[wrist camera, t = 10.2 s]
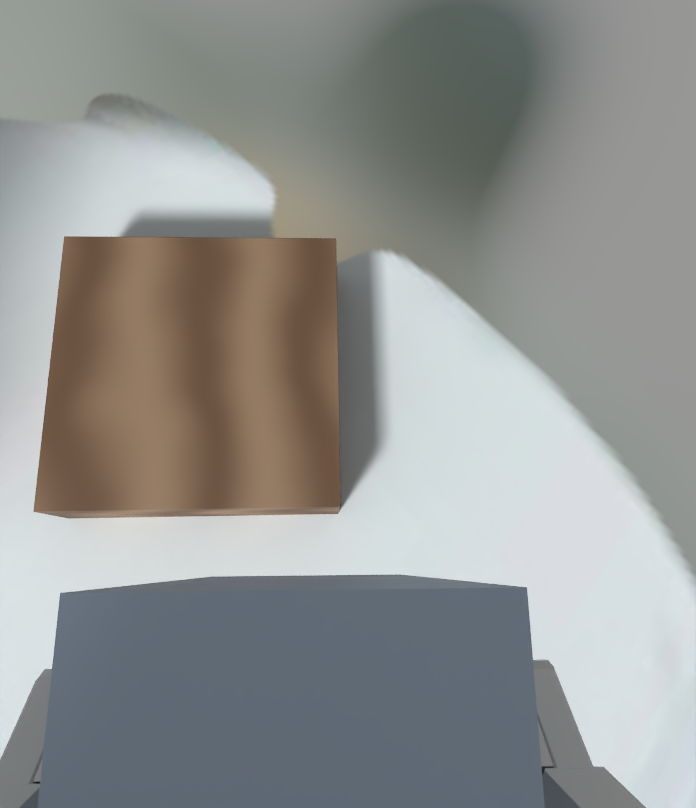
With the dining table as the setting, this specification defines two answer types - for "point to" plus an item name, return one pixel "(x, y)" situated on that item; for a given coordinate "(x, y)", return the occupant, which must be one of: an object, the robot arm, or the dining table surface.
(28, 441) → the dining table surface
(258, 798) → the slate pillar
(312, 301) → the walnut block
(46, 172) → the dining table surface
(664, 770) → the dining table surface
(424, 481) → the dining table surface
